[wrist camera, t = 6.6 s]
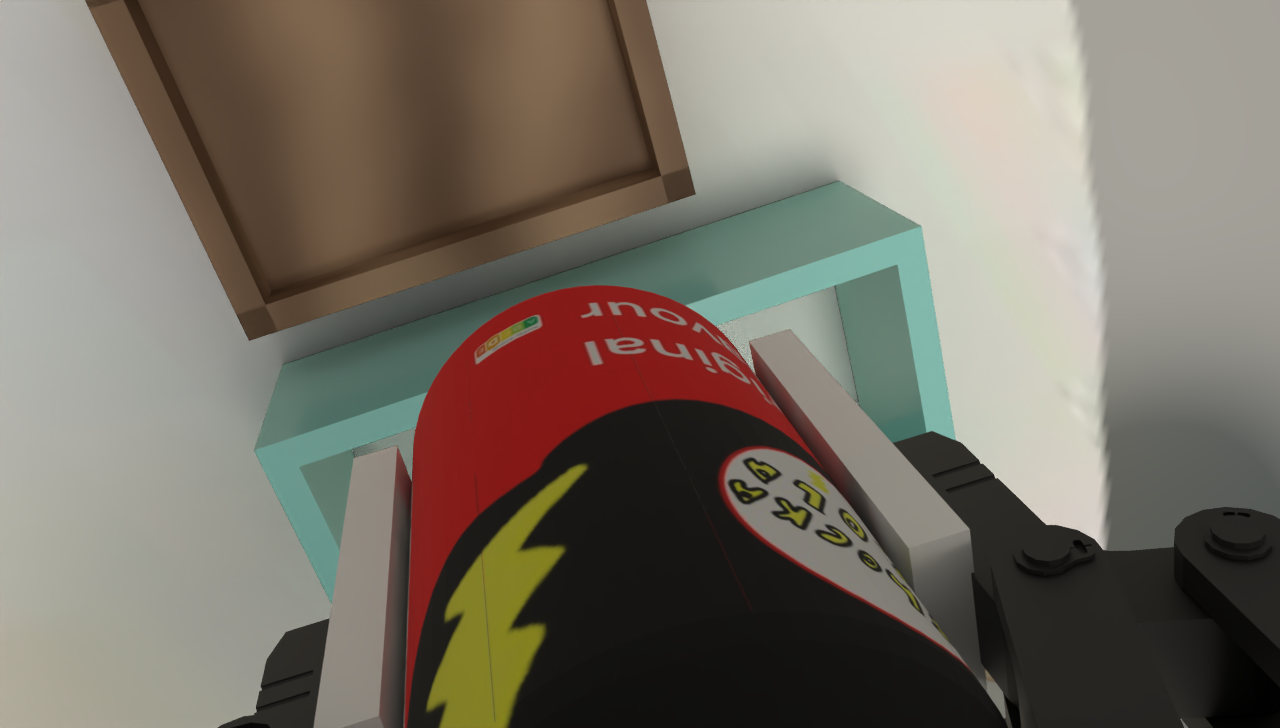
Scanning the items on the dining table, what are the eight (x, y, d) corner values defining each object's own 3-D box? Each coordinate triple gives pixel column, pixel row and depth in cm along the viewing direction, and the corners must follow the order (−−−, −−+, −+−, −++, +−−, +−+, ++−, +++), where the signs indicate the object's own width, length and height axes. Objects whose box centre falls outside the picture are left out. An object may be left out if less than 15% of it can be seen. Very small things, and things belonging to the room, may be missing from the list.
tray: (259, 316, 36) (249, 340, 34) (97, -29, 31) (72, -27, 29) (679, 179, 38) (695, 194, 35) (586, -174, 33) (599, -183, 30)
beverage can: (761, 526, 21) (1120, 1175, 10) (456, 598, 20) (484, 1380, 9) (726, 234, 18) (1165, 681, 7) (376, 305, 17) (282, 917, 7)
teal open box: (400, 615, 42) (397, 733, 36) (282, 364, 37) (254, 450, 31) (890, 443, 44) (969, 527, 37) (839, 180, 39) (921, 226, 32)
